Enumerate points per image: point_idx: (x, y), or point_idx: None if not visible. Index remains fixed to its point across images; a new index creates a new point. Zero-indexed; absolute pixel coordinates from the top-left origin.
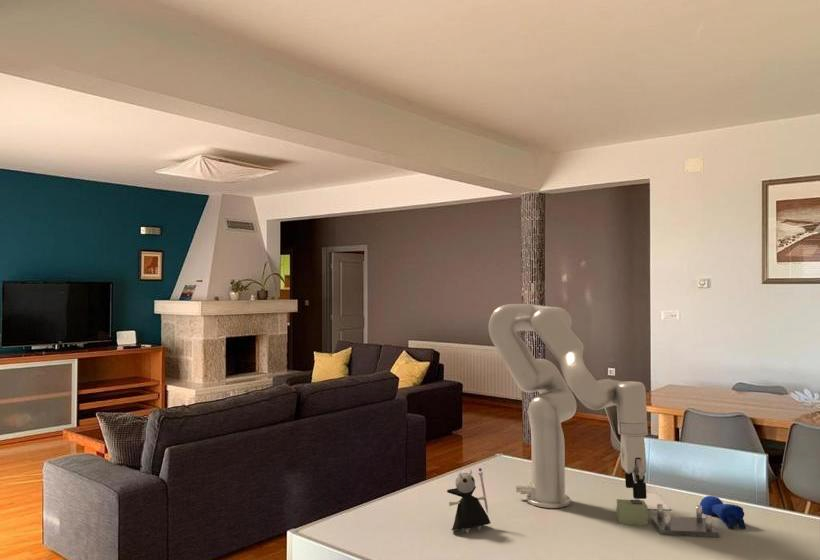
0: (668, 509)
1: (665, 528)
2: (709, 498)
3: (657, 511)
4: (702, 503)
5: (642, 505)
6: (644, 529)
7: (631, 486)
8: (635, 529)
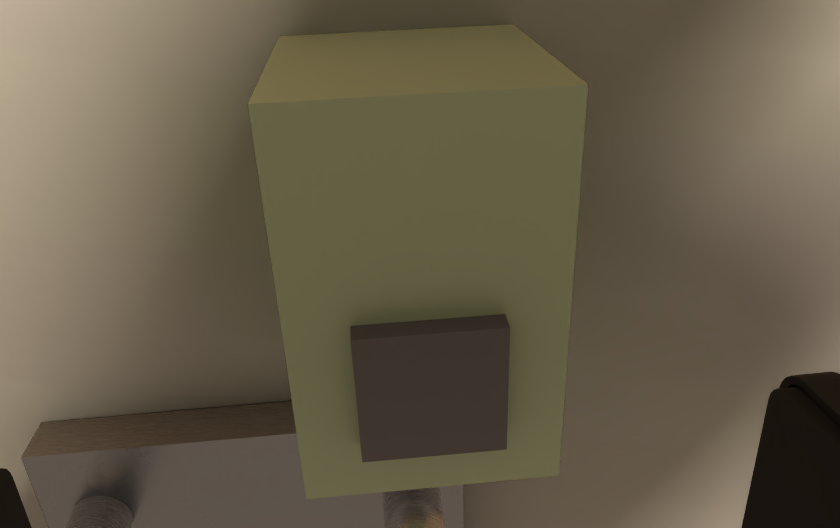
0: None
1: (81, 502)
2: None
3: (406, 524)
4: None
5: (313, 445)
6: (146, 296)
7: (772, 478)
8: (108, 202)
